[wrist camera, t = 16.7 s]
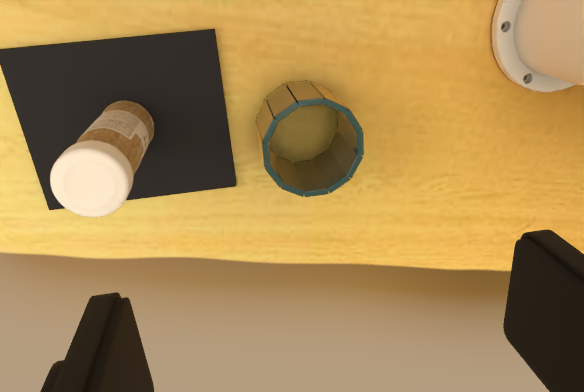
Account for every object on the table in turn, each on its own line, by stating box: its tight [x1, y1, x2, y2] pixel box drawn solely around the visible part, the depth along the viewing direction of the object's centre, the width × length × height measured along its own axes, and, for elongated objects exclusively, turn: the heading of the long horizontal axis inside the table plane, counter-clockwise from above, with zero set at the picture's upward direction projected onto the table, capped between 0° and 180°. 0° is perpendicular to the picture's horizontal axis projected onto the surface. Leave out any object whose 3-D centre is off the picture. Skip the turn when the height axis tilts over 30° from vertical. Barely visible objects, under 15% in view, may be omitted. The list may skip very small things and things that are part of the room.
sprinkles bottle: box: [50, 100, 154, 217], centre depth 34 cm, size 5×4×14 cm
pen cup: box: [256, 81, 364, 197], centre depth 40 cm, size 8×8×7 cm
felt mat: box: [0, 29, 236, 210], centre depth 40 cm, size 17×14×1 cm
